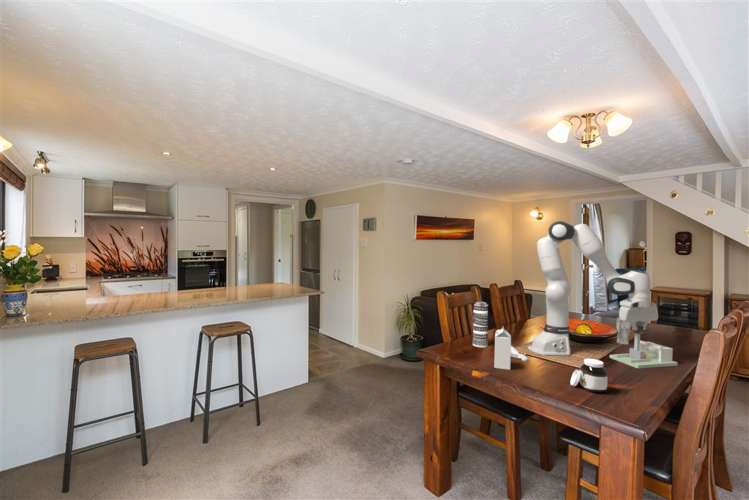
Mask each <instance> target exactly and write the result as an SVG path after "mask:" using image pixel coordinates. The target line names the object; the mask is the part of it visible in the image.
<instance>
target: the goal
mask: <svg viewBox="0 0 749 500" xmlns="http://www.w3.org/2000/svg"><path fill="white" fill-rule="evenodd" d="M640 350H641V351H644V352H646V354H649V355H652V356H655V357H658V358H659V360H658V361H659V362H669V361H673V351H674V350H673V348H672V347H669V346H666V345H662V344H658V343H655V342H651V341H643V340H641V339H640Z"/></svg>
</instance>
